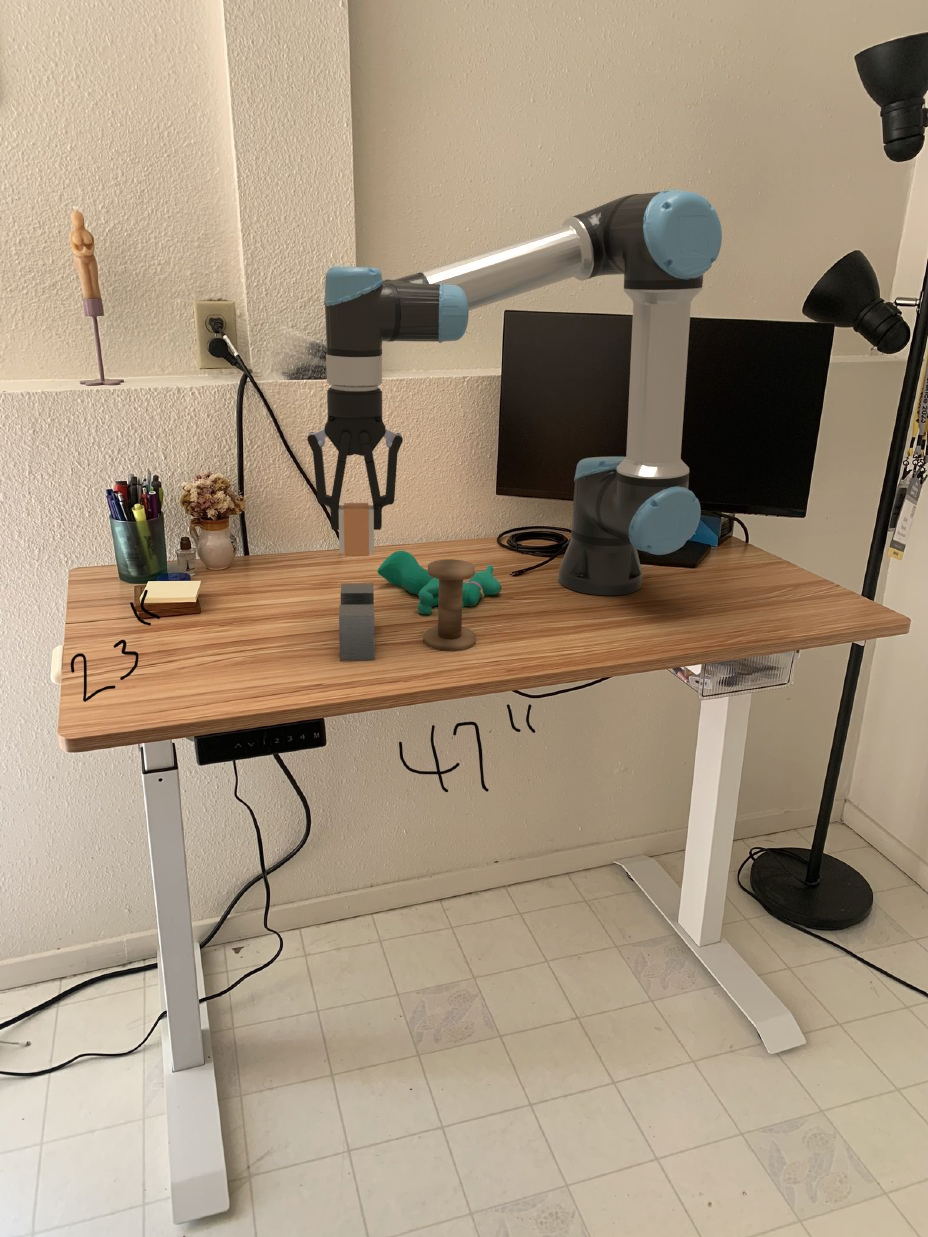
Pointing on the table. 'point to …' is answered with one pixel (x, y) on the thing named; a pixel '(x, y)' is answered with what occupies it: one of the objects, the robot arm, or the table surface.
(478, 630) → the table surface
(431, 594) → the toy
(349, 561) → the table surface
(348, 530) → the orange brown block
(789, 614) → the table surface
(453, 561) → the bobbin
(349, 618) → the metal block
